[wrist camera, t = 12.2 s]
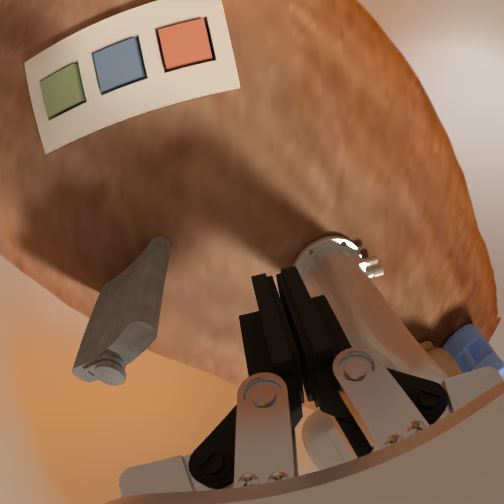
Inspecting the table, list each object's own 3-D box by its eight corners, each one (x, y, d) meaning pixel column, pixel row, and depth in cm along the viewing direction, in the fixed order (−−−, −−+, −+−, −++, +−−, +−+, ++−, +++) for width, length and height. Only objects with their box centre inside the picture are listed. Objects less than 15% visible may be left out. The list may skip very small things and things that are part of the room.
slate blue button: (140, 41, 25) (134, 37, 23) (147, 77, 28) (142, 75, 25) (101, 56, 25) (93, 53, 23) (109, 91, 28) (101, 91, 25)
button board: (217, -6, 24) (218, -14, 21) (237, 88, 31) (240, 87, 29) (35, 63, 23) (24, 62, 21) (55, 149, 30) (45, 154, 28)
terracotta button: (204, 24, 26) (203, 18, 23) (211, 60, 28) (212, 56, 26) (161, 35, 25) (157, 29, 23) (169, 70, 28) (166, 68, 26)
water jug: (477, 328, 73) (518, 384, 49) (446, 359, 78) (482, 417, 54) (467, 316, 67) (516, 380, 43) (433, 351, 72) (474, 418, 48)
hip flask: (160, 231, 40) (134, 335, 23) (179, 249, 42) (168, 358, 25) (98, 289, 43) (64, 387, 26) (116, 303, 45) (90, 403, 28)
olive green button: (82, 65, 25) (73, 63, 22) (90, 99, 28) (81, 100, 25) (51, 81, 25) (39, 82, 22) (58, 115, 28) (47, 117, 25)
